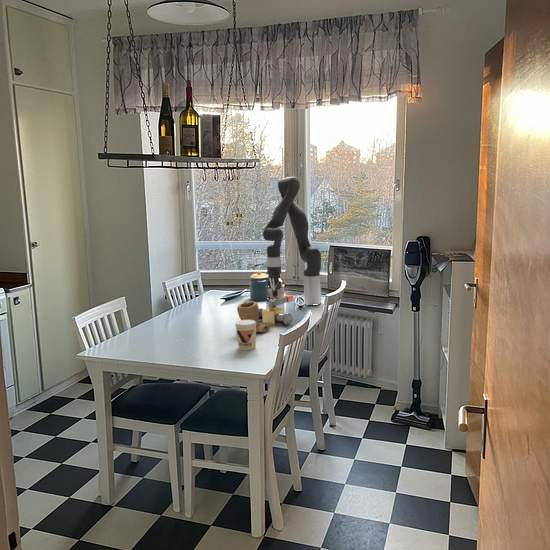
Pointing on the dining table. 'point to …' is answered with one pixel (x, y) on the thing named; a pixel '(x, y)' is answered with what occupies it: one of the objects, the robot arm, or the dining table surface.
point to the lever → (280, 300)
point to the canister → (258, 286)
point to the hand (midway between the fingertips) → (275, 296)
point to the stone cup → (252, 315)
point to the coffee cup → (246, 334)
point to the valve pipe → (274, 316)
